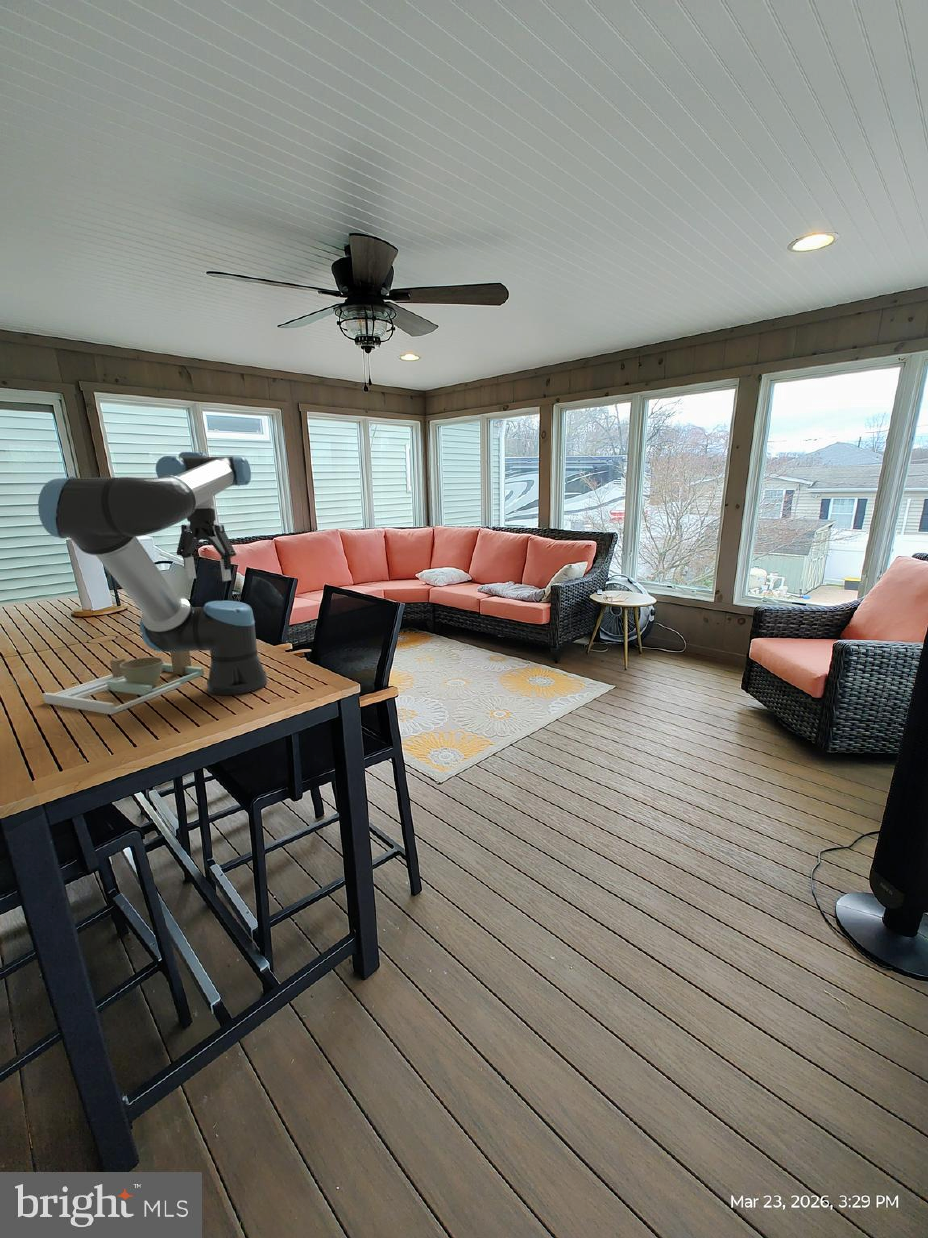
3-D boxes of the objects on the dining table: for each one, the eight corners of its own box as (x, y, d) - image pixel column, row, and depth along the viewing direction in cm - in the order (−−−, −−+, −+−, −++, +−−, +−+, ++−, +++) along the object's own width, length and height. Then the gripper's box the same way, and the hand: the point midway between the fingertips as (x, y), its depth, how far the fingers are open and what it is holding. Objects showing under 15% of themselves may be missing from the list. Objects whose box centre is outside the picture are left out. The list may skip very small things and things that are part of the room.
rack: (181, 686, 140) (180, 677, 139) (111, 714, 122) (109, 704, 121) (114, 676, 148) (112, 668, 147) (39, 702, 130) (37, 693, 129)
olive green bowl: (145, 695, 134) (141, 669, 132) (114, 692, 136) (110, 666, 134) (174, 682, 143) (171, 657, 142) (145, 679, 146) (141, 655, 144)
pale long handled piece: (129, 678, 146) (126, 658, 145) (61, 702, 129) (57, 680, 128) (119, 677, 148) (116, 657, 146) (51, 700, 130) (46, 678, 129)
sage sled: (207, 673, 150) (202, 640, 148) (149, 696, 133) (143, 660, 130) (168, 668, 155) (164, 636, 153) (108, 690, 138) (101, 654, 135)
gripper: (243, 507, 147) (251, 579, 152) (178, 507, 155) (187, 576, 160) (224, 507, 141) (232, 583, 145) (156, 508, 148) (167, 579, 153)
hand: (209, 579), depth 153 cm, fingers open, 13 cm apart
